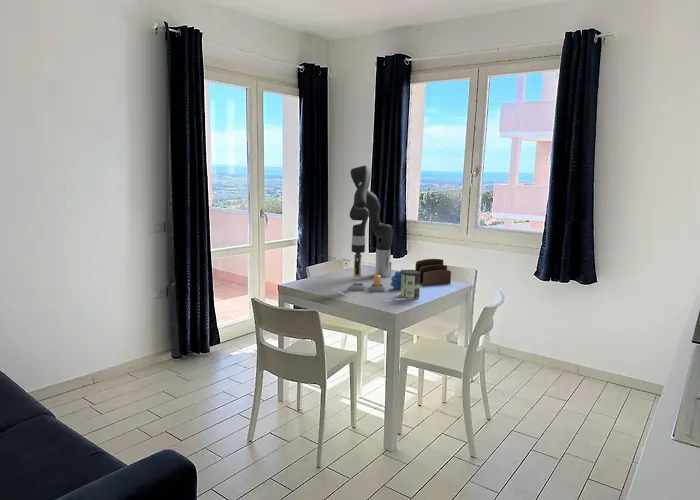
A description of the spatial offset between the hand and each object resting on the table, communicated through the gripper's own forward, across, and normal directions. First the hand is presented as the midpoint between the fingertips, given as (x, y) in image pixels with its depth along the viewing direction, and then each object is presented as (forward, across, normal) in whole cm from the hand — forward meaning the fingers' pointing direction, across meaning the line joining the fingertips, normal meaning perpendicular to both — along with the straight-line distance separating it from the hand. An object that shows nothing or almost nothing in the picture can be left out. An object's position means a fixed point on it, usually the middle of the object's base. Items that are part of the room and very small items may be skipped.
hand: (357, 273), depth 288 cm
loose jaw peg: (+2, 0, 0) cm, 2 cm away
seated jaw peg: (+9, 0, +11) cm, 14 cm away
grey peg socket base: (+10, 0, +6) cm, 11 cm away
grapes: (+10, -6, +24) cm, 27 cm away
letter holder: (+10, -27, +45) cm, 53 cm away
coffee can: (+10, +9, +30) cm, 32 cm away
